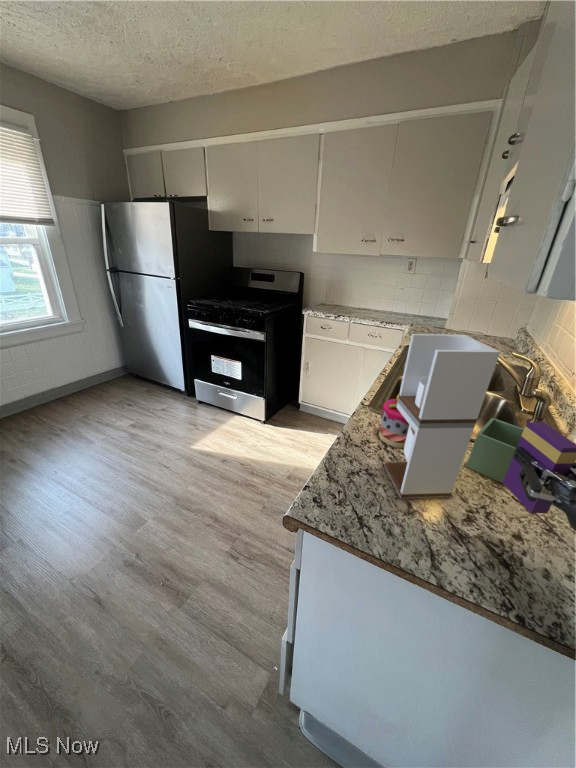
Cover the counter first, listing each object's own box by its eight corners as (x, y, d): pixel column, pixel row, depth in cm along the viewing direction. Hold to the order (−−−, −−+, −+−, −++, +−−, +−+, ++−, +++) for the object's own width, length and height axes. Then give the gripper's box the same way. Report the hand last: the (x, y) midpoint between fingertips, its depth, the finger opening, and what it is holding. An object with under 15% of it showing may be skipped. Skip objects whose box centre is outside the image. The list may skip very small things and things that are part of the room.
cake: (371, 430, 94) (379, 386, 88) (403, 428, 96) (413, 384, 89) (387, 452, 85) (397, 404, 78) (422, 449, 87) (435, 401, 80)
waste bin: (528, 471, 80) (544, 436, 75) (517, 493, 72) (534, 456, 68) (479, 450, 87) (491, 417, 82) (465, 469, 80) (477, 433, 75)
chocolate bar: (517, 482, 57) (543, 421, 52) (548, 513, 51) (582, 448, 45) (501, 482, 57) (526, 421, 51) (530, 513, 51) (563, 448, 45)
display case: (427, 468, 80) (465, 334, 65) (449, 499, 70) (500, 351, 55) (383, 468, 79) (411, 333, 64) (400, 501, 69) (438, 351, 54)
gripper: (703, 516, 37) (574, 432, 52) (590, 519, 36) (493, 432, 51) (668, 559, 40) (556, 467, 55) (563, 562, 39) (480, 468, 55)
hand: (526, 451), depth 53 cm, fingers closed on chocolate bar, 3 cm apart
